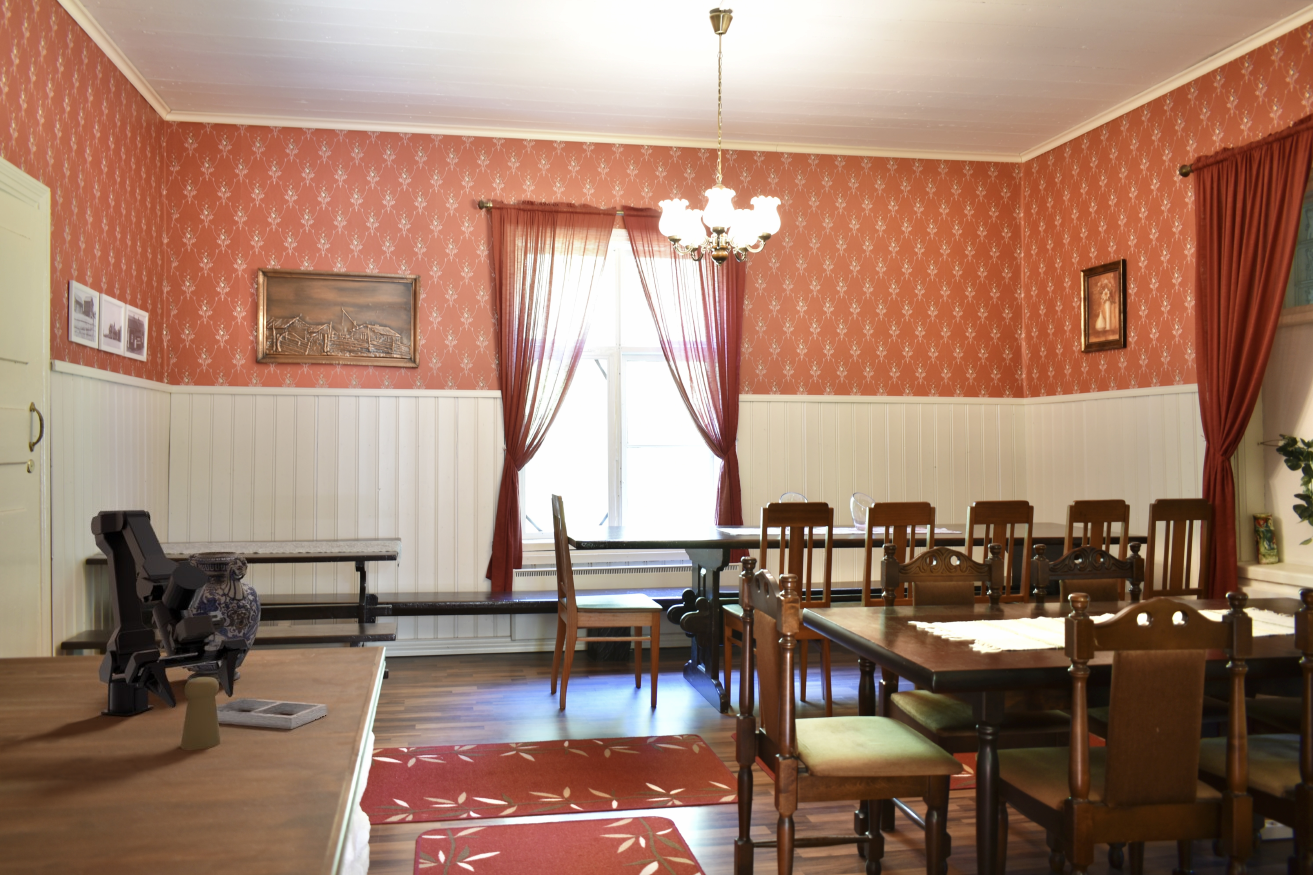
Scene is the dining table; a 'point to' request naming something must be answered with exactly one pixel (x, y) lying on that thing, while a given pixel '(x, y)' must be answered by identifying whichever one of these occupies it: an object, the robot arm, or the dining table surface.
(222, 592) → the decorative vase
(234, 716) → the grey divided tray
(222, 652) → the robot arm
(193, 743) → the cork
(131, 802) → the dining table surface
